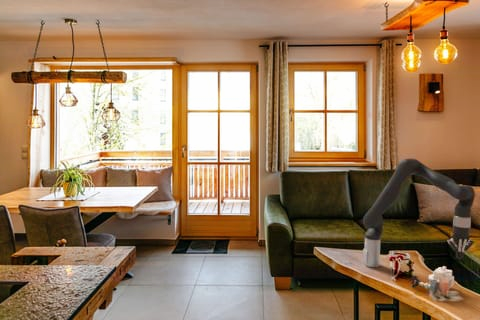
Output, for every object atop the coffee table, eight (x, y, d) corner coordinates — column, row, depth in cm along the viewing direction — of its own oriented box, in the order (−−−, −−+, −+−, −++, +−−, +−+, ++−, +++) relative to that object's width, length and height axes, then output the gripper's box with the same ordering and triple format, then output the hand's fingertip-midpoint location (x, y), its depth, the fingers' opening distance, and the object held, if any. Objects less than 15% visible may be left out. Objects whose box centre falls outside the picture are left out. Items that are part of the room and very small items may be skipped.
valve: (439, 293, 193) (416, 285, 201) (440, 280, 192) (416, 274, 201) (435, 296, 188) (411, 289, 197) (435, 284, 188) (411, 277, 196)
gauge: (436, 301, 183) (437, 285, 182) (429, 295, 190) (429, 279, 189) (463, 301, 184) (464, 284, 183) (455, 295, 190) (456, 279, 189)
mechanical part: (438, 282, 206) (439, 261, 205) (457, 291, 195) (459, 269, 194) (423, 285, 202) (424, 264, 201) (442, 294, 191) (443, 272, 190)
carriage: (444, 297, 184) (445, 283, 184) (438, 292, 190) (439, 279, 189) (450, 297, 184) (451, 283, 184) (444, 292, 190) (445, 279, 189)
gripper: (453, 227, 181) (450, 261, 182) (479, 227, 181) (476, 261, 183) (444, 222, 188) (442, 255, 190) (469, 223, 188) (467, 255, 190)
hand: (459, 258), depth 186 cm, fingers closed
